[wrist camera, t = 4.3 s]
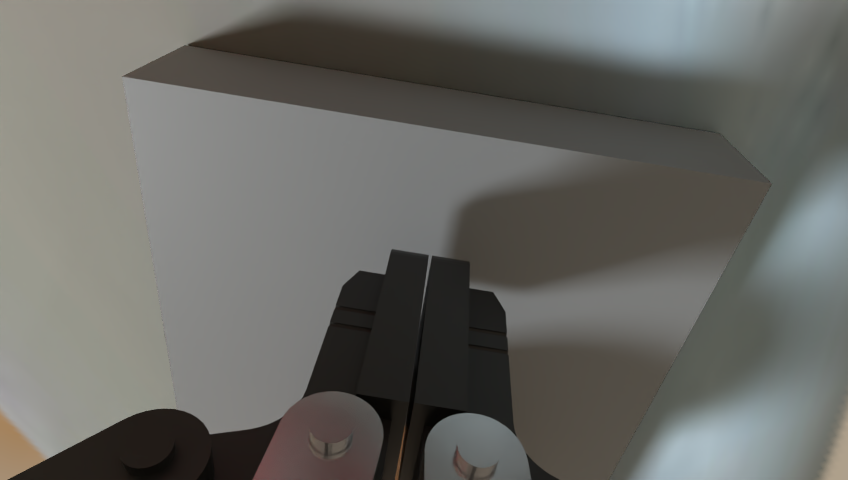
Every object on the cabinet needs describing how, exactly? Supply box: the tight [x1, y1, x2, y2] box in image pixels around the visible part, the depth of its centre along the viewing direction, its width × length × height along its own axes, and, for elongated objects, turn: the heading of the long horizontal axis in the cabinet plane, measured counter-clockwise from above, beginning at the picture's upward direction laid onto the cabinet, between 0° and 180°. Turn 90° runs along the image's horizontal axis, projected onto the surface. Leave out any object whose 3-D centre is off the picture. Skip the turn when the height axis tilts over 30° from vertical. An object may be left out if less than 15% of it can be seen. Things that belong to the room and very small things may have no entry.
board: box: [122, 45, 772, 480], centre depth 17 cm, size 24×12×2 cm, turn 172°
